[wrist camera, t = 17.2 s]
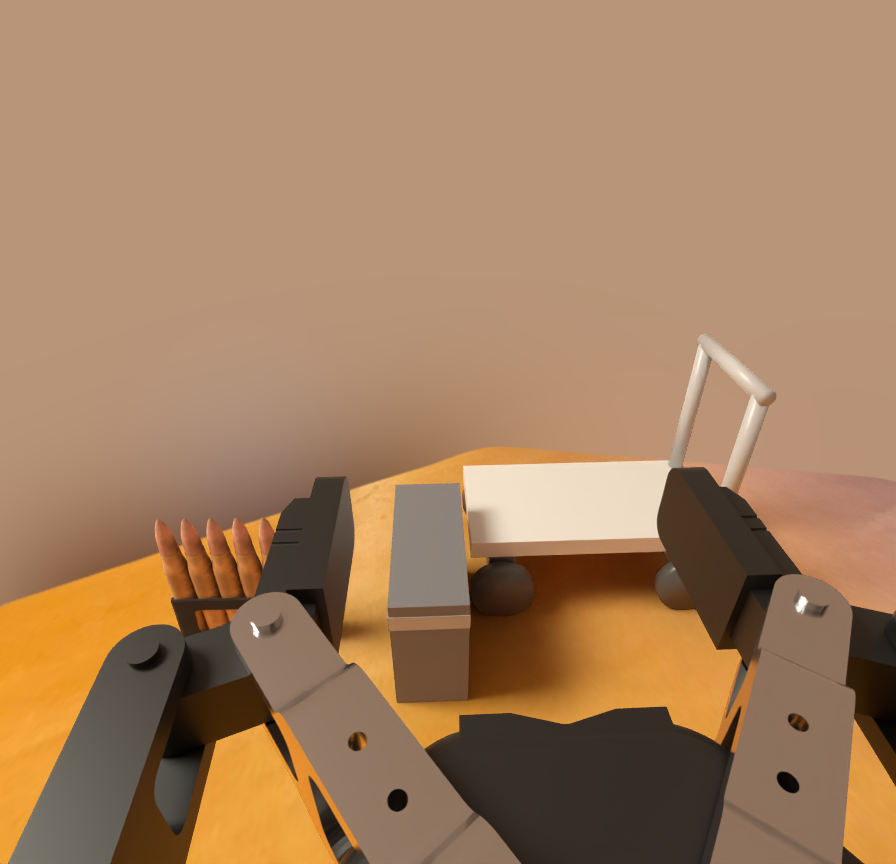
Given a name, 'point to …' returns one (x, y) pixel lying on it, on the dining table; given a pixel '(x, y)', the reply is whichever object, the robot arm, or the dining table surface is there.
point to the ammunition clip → (211, 572)
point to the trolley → (592, 501)
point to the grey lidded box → (429, 595)
